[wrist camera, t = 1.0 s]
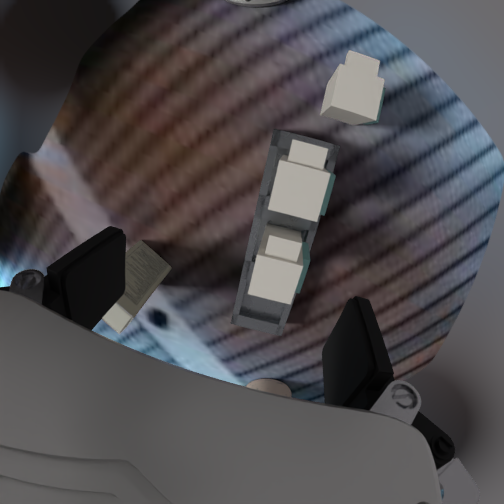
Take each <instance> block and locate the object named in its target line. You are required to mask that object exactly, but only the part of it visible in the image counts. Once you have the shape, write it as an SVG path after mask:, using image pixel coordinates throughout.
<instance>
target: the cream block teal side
mask: <svg viewBox="0 0 504 504" xmlns="http://www.w3.org/2000/svg"><path fill="white" fill-rule="evenodd" d="M327 152H328V149H327V148H323V147H320V146H316V145H313V144H309V143H305V142H301V141H297V140H292V144H291V148H290V152H289V156H287V155H283V156H282V157H281V158H280V160H279V164H278V168H277V173H276V177H275V181H274V185H273V190H272V194H271V198H270V202H269V206H268V210H272V211H276V212H280V213H284V214H288V215H292V216H296V217H300V218H304V219H307V220H311V221H315V222H317V220H318V217H319V214H321V215H324V216H325V212H326V209H327V206H328V202H329V199H330V195H331V192H332V188H333V184H334V181H335V177H336V175H334V174H333V173H332V172H331V171H330V170H327V169H325V168H324V163H325V159H326V156H327Z"/></svg>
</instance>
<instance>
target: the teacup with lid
mask: <svg viewBox="0 0 504 504" xmlns="http://www.w3.org/2000/svg"><path fill="white" fill-rule="evenodd" d="M246 387H248V388H252V389H256V390H260V391H264V392H269V393H273V394H278V395H282V396H287V397H291V390H290V388H289V387H288V386H287V385H286V384H284V383H282V382H280V381H278V380H274V379H257V380H254V381H252V382H250V383H249V384H248V385H247V386H246Z"/></svg>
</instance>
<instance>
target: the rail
mask: <svg viewBox="0 0 504 504" xmlns="http://www.w3.org/2000/svg"><path fill="white" fill-rule="evenodd" d="M292 140H297V141H301V142H305V143H309V144H313V145H316V146H320V147H323V148H327V149H328V152H327V156H326V159H325V163H324V168H325V169H327V170H330V171H331V172H332V173H333V171H334V167H335V163H336V159H337V155H338V151H339V148H340V146H338V145H334V144H331V143H328V142H324V141H321V140H317V139H313V138H310V137H306V136H302V135H298V134H294V133H290V132H286V131H281V130H277V129H274V131H273V135H272V140H271V144H270V148H269V153H268V157H267V162H266V166H265V171H264V175H263V180H262V184H261V188H260V193H259V197H258V202H257V206H256V211H255V215H254V220H253V224H252V229H251V233H250V238H249V242H248V247H247V251H246V256H245V261H244V265H243V270H242V274H241V279H240V283H239V288H238V293H237V297H236V302H235V306H234V311H233V316H232V320H231V324H234V325H238V326H242V327H246V328H250V329H254V330H258V331H262V332H266V333H270V334H275V335H279V336H281V335H282V332H283V329H284V326H285V324H286V321H287V318H288V315H289V312H290V310H291V307H292V304H293V301H294V298H295V295H296V292H295V293H294V296H293V299H292V302H291V305H290V304H286V303H282V302H278V301H274V300H269V299H265V298H261V297H257V296H253V295H250V294H248V290H249V286H250V282H251V278H252V274H253V269H254V265H255V261H256V257H257V253H258V250H259V247H260V244H261V241H262V237H263V234H264V231H265V228H266V225H267V223H268V224H272V225H276V226H280V227H284V228H288V229H292V230H296V231H300V232H301V238H302V242H305V243H308V245H309V253H310V250H311V247H312V243H313V240H314V237H315V234H316V230H317V227H318V224H319V220H320V217H321V214H319V217H318V220H317V222H315V221H311V220H307V219H304V218H300V217H296V216H292V215H288V214H284V213H280V212H276V211H272V210H268V206H269V202H270V198H271V194H272V190H273V185H274V181H275V177H276V173H277V168H278V164H279V160H280V158H281V157H282V156H283V155H287V156H289V152H290V148H291V144H292Z"/></svg>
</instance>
